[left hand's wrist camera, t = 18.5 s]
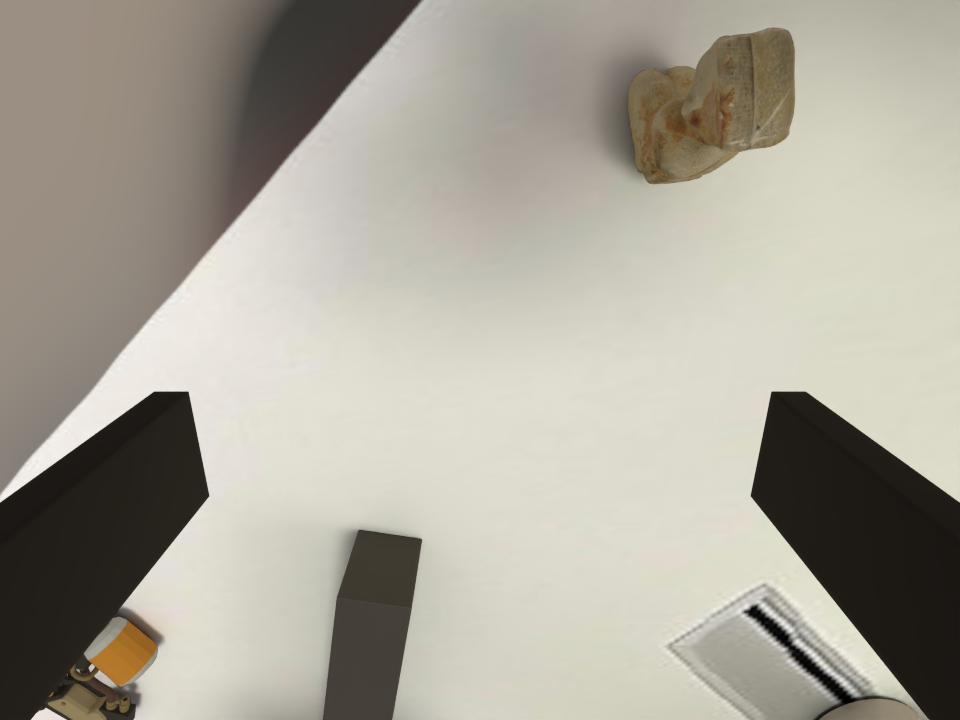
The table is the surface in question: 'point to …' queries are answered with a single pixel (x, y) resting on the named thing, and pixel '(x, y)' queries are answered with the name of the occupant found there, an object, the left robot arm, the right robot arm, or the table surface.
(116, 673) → the spray gun
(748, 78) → the sculpture
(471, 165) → the table surface
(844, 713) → the bust sculpture
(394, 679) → the bar
